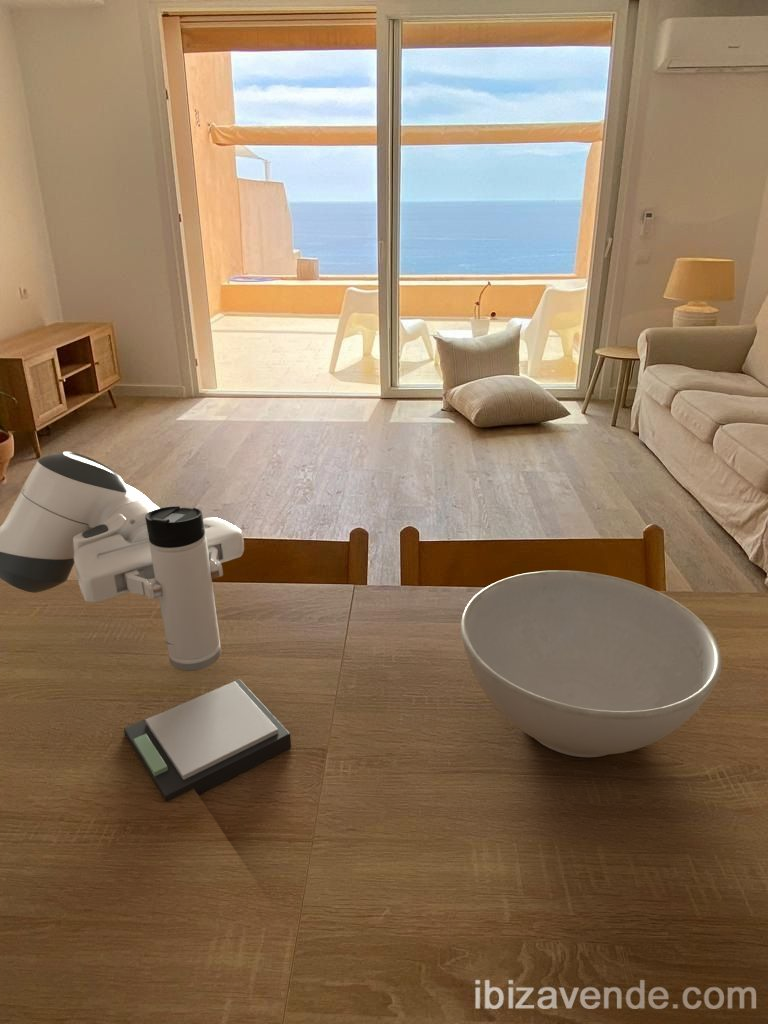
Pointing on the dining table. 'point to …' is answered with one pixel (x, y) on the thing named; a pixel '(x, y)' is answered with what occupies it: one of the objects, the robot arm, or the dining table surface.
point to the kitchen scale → (207, 740)
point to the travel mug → (184, 586)
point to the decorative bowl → (589, 659)
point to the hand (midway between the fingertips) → (186, 582)
